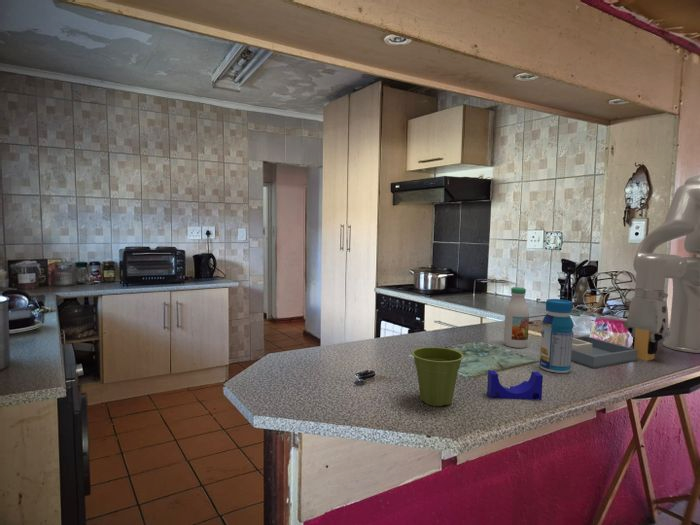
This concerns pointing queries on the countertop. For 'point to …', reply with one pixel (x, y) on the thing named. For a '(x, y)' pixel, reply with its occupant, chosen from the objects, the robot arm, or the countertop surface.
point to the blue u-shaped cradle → (515, 387)
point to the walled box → (600, 352)
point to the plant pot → (437, 373)
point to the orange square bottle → (642, 344)
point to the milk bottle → (516, 320)
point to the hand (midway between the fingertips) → (644, 351)
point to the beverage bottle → (557, 336)
